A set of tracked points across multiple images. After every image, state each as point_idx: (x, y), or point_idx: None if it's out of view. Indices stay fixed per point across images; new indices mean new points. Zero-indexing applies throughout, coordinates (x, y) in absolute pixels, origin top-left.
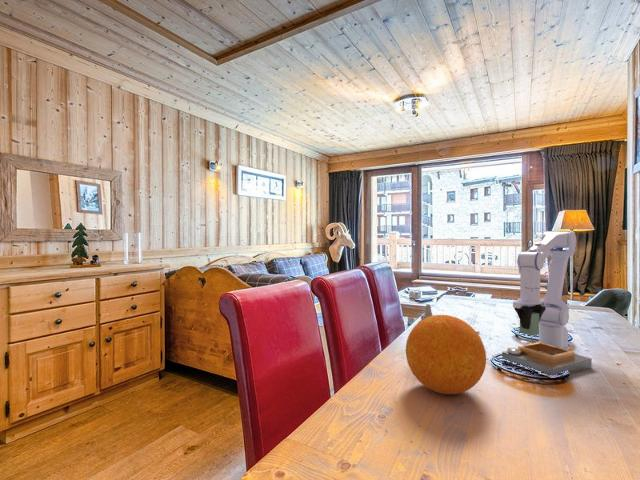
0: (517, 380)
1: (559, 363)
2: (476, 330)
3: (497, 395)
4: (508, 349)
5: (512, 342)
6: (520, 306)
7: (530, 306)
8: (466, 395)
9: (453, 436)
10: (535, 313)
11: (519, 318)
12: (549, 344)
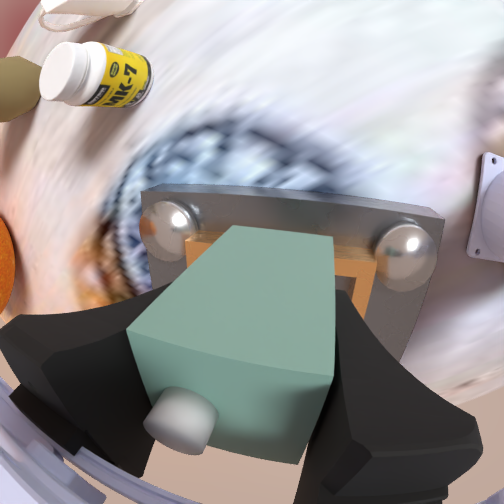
0: (101, 292)
1: None
2: (57, 82)
3: (48, 296)
4: (140, 219)
5: (458, 58)
6: (17, 411)
7: (332, 485)
8: (21, 268)
9: (6, 304)
10: (251, 451)
11: (136, 299)
12: (416, 287)
